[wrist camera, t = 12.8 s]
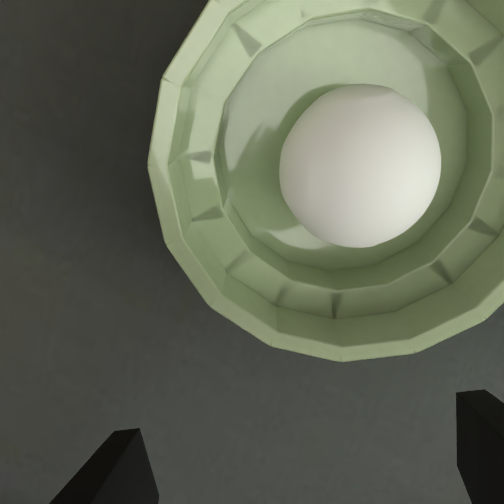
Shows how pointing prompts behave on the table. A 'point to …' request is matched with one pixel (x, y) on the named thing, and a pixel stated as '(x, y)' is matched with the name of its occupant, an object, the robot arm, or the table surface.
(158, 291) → the table surface
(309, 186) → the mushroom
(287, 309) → the bowl
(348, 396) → the table surface
